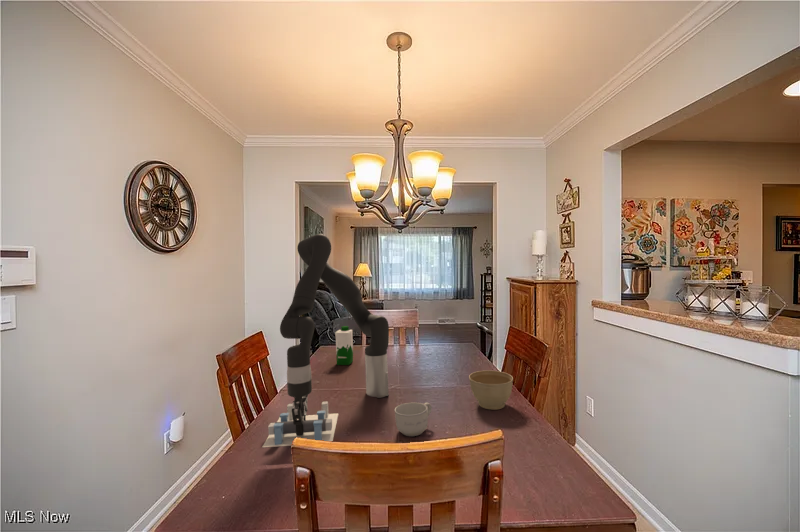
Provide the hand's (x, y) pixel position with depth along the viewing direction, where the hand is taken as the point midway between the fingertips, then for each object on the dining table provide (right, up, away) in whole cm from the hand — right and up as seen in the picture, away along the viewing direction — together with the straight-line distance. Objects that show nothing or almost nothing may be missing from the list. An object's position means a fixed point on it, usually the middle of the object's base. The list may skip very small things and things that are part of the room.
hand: (301, 431), depth 115 cm
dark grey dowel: (0, 0, 0) cm, 0 cm away
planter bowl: (+67, 0, +21) cm, 70 cm away
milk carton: (+1, -1, +83) cm, 83 cm away
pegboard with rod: (0, -2, +4) cm, 5 cm away
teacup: (+37, -1, +3) cm, 37 cm away
